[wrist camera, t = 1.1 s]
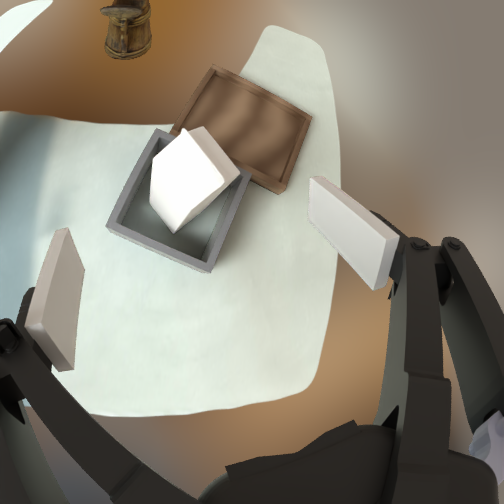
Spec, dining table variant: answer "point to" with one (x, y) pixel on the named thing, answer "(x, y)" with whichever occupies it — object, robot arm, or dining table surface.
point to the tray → (247, 126)
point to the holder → (114, 226)
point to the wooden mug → (128, 29)
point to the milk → (188, 177)
